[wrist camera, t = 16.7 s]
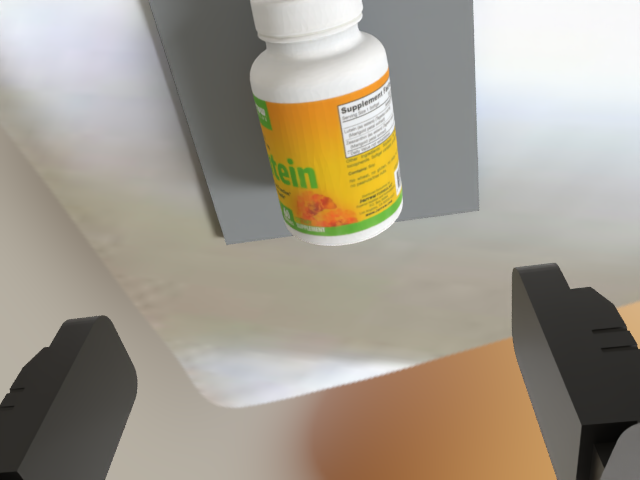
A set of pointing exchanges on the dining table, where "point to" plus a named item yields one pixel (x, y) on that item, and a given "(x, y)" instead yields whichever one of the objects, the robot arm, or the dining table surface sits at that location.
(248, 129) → the placemat
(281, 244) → the dining table surface
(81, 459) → the robot arm
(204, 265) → the dining table surface
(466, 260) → the dining table surface
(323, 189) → the supplement bottle
